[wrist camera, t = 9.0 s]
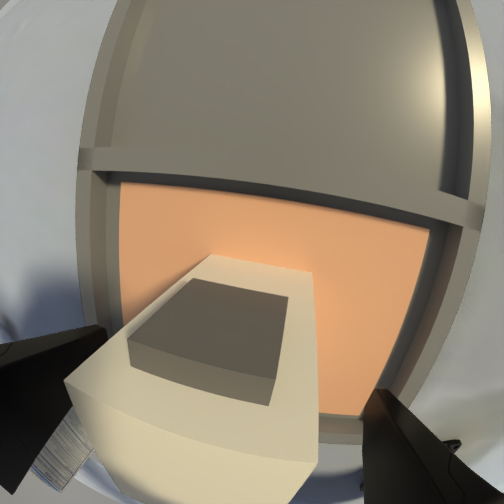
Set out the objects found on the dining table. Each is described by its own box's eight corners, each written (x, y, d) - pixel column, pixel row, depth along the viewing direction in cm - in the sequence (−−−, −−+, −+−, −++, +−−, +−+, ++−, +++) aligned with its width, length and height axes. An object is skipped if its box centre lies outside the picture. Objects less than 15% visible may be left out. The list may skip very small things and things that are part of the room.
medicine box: (38, 364, 17) (-20, 412, 9) (59, 366, 16) (-7, 424, 8) (81, 427, 19) (37, 478, 11) (107, 434, 18) (62, 495, 10)
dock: (379, 426, 12) (382, 444, 11) (110, 367, 15) (98, 380, 13) (454, -4, 6) (464, -16, 4) (150, -31, 8) (139, -43, 6)
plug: (287, 372, 12) (259, 535, 4) (203, 354, 12) (121, 492, 5) (315, 257, 10) (332, 440, 3) (212, 239, 11) (54, 352, 3)
